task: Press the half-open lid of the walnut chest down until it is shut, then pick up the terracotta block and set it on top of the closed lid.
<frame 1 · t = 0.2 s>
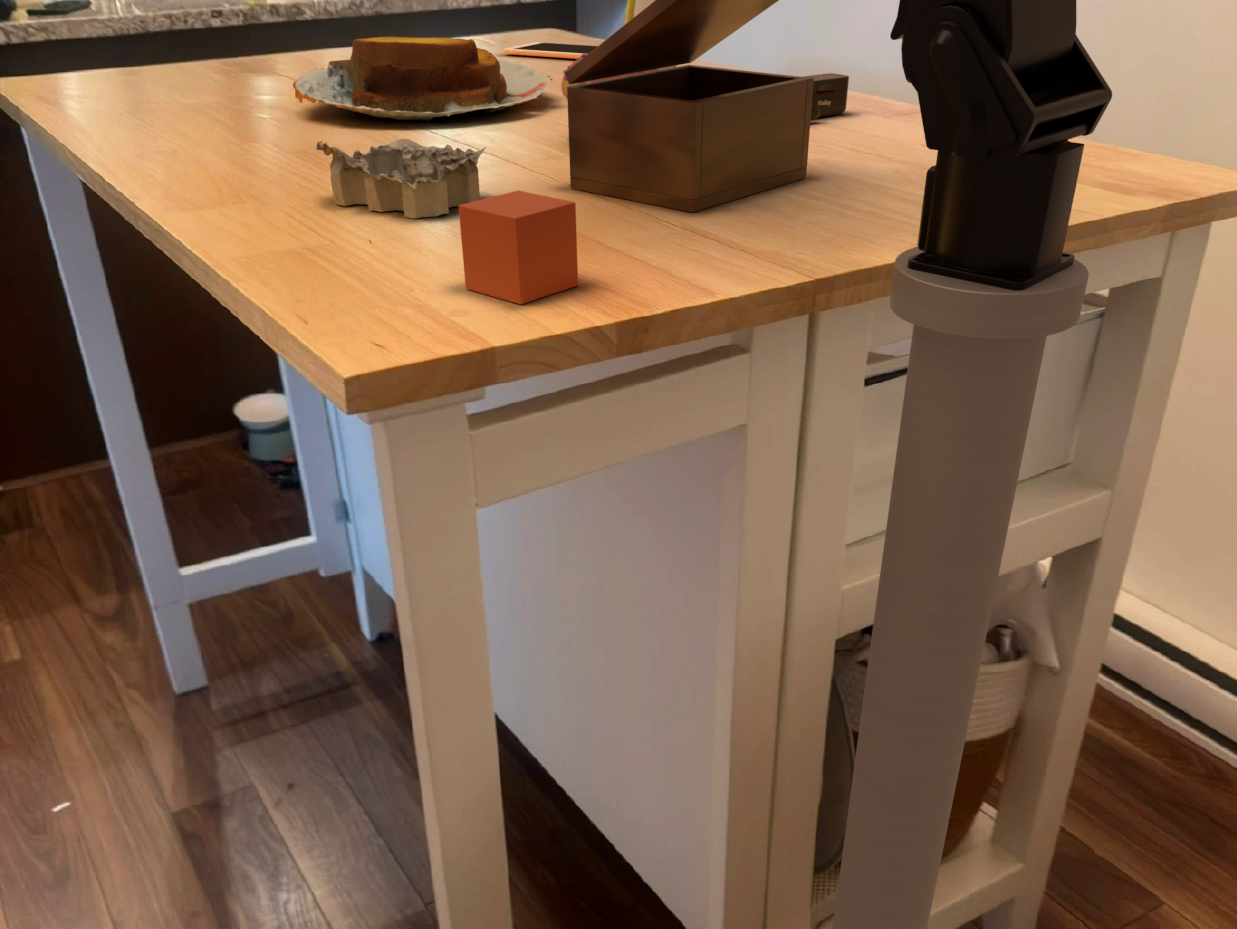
egg carton: (408, 204, 82), on the countertop
food on plate: (427, 108, 115), on the countertop
lid: (688, 24, 79), point 10 cm above the countertop, hinge at 30.0°
cell phone: (571, 55, 145), on the countertop
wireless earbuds: (812, 120, 107), on the countertop
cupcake: (612, 144, 98), on the countertop
chest: (689, 183, 85), on the countertop
tea bag: (648, 112, 111), on the countertop
block: (522, 287, 64), on the countertop
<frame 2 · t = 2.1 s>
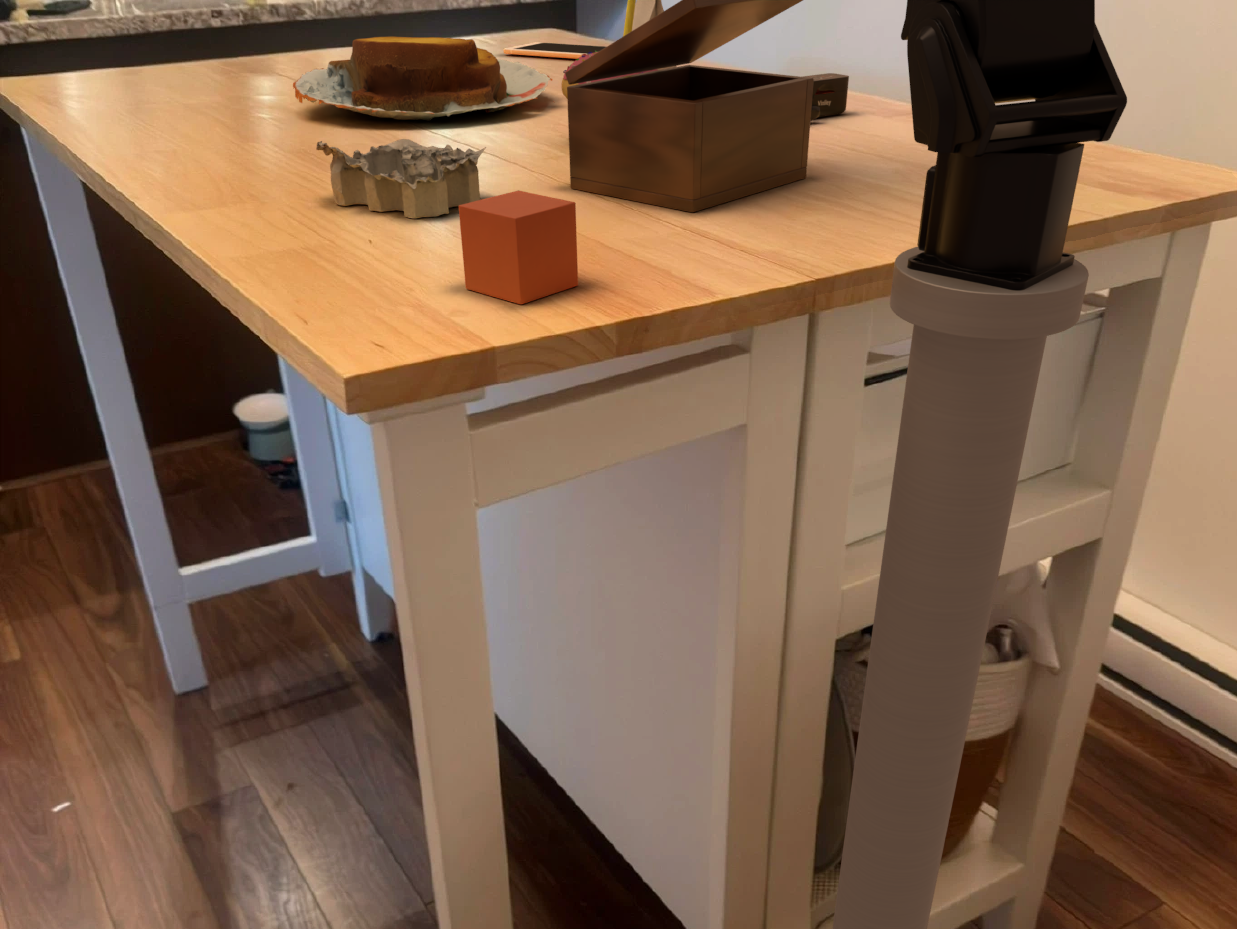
hand: (716, 6, 77), 12 cm above the countertop, tool pointing down, fingers closed
lid: (691, 32, 80), point 10 cm above the countertop, hinge at 25.0°
everything else where it was.
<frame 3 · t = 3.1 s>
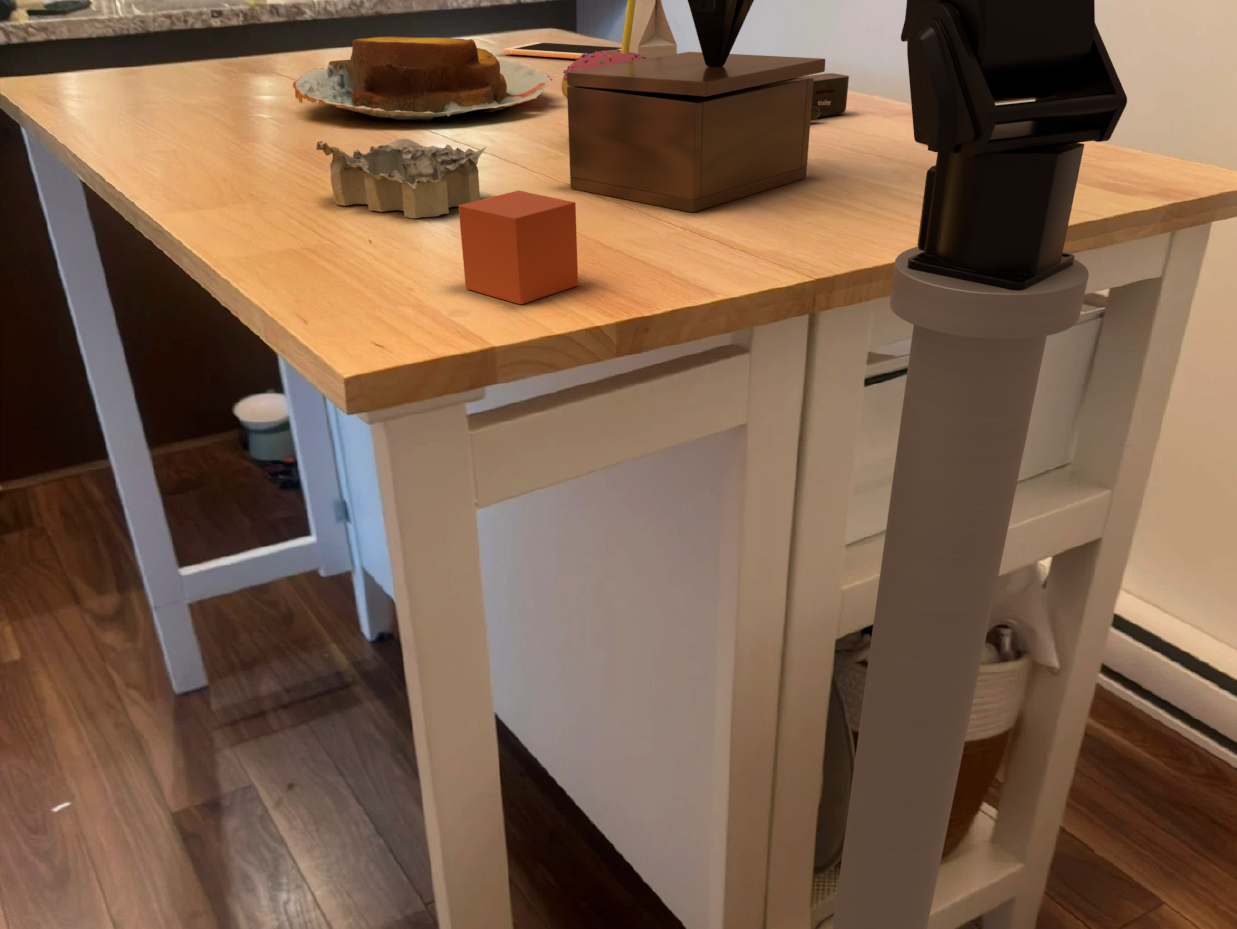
hand: (714, 66, 79), 8 cm above the countertop, tool pointing down, fingers closed, pressing on lid
lid: (696, 72, 81), point 7 cm above the countertop, hinge at 1.9°, touching gripper
everything else where it was.
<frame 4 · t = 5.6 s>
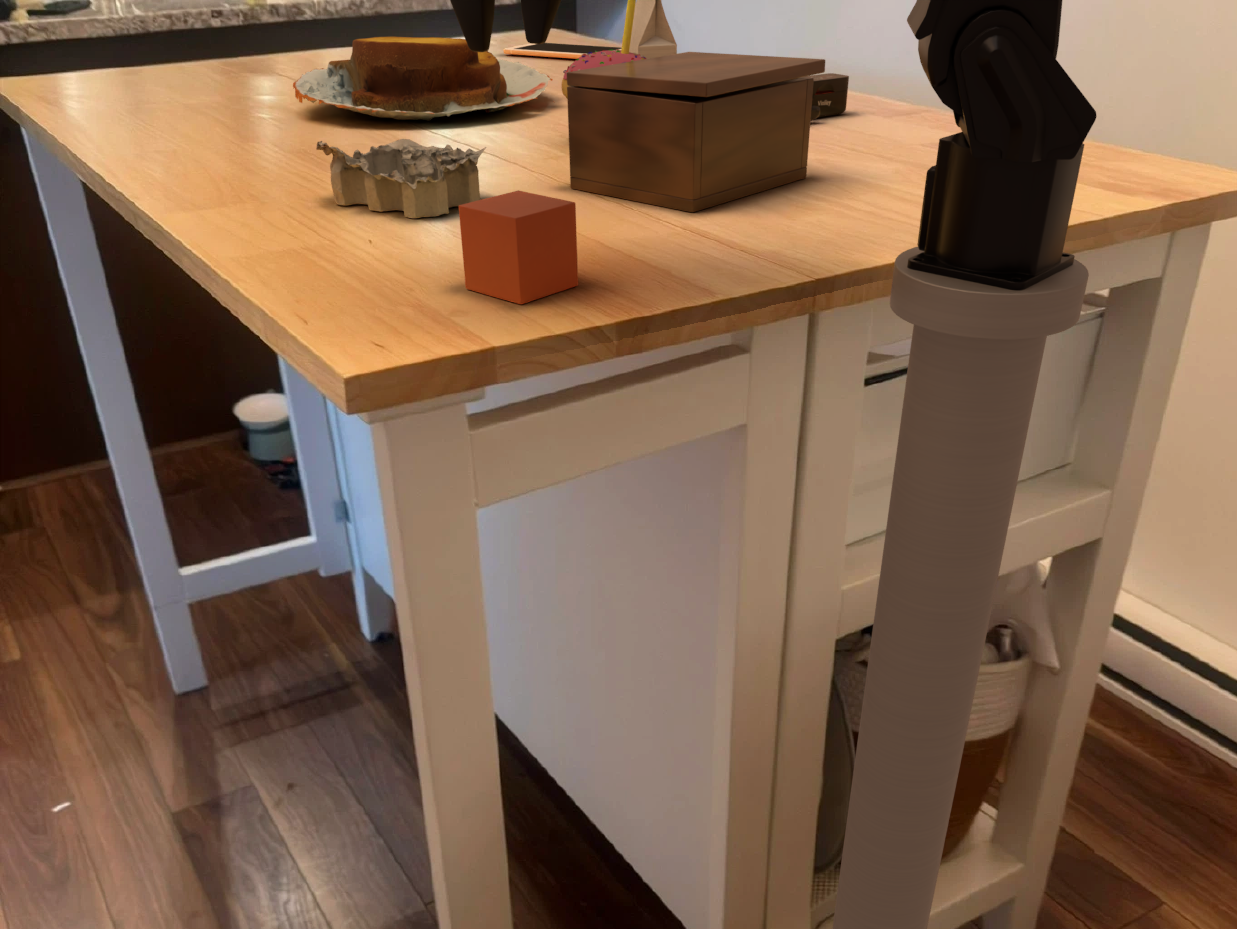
hand: (508, 47, 58), 12 cm above the countertop, tool pointing down, fingers open, 4 cm apart
lid: (696, 72, 81), point 7 cm above the countertop, hinge at 1.7°
everything else where it was.
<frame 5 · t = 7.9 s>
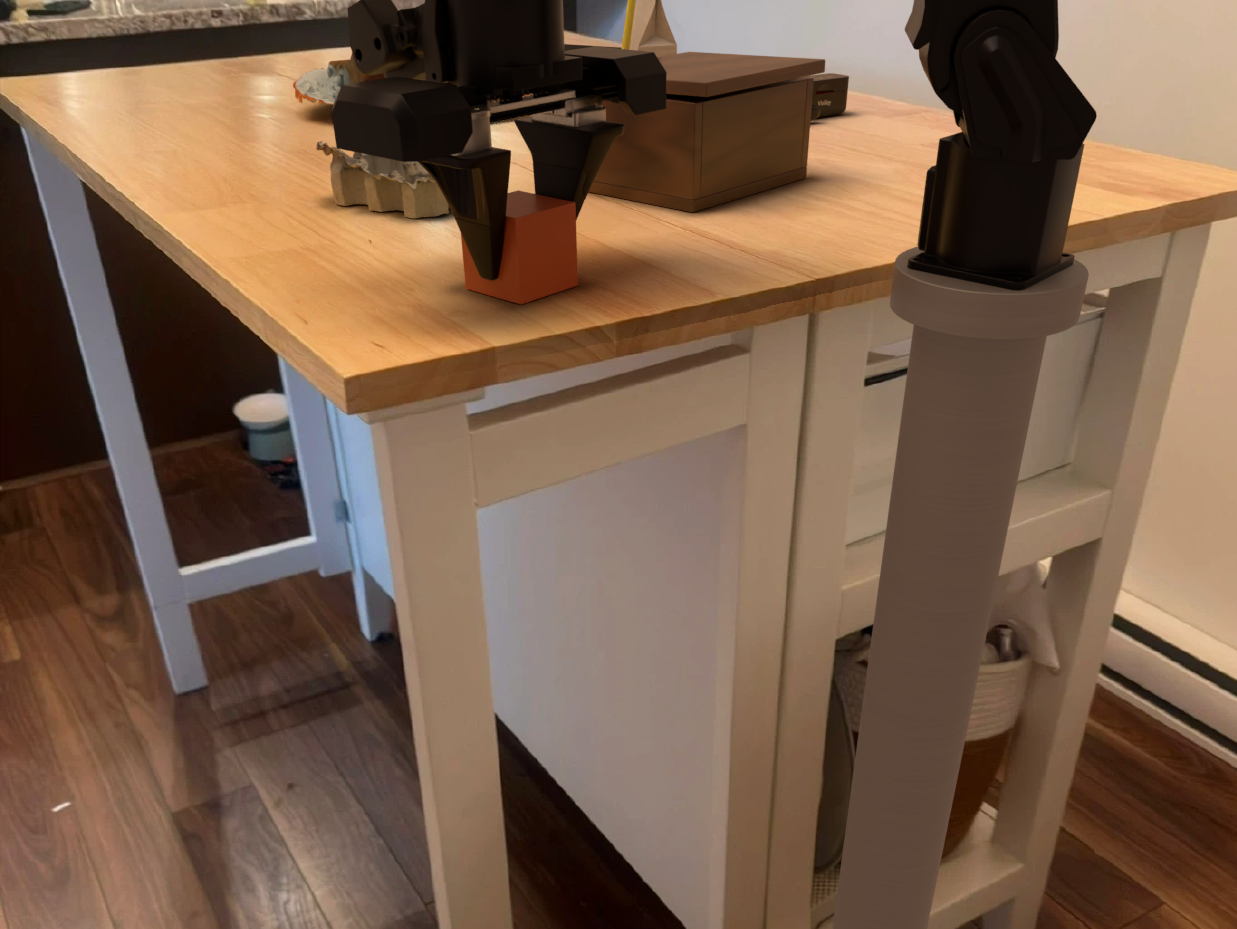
hand: (521, 268, 64), 1 cm above the countertop, tool pointing down, fingers closed on block, 4 cm apart
block: (522, 287, 64), on the countertop, touching gripper
everything else where it was.
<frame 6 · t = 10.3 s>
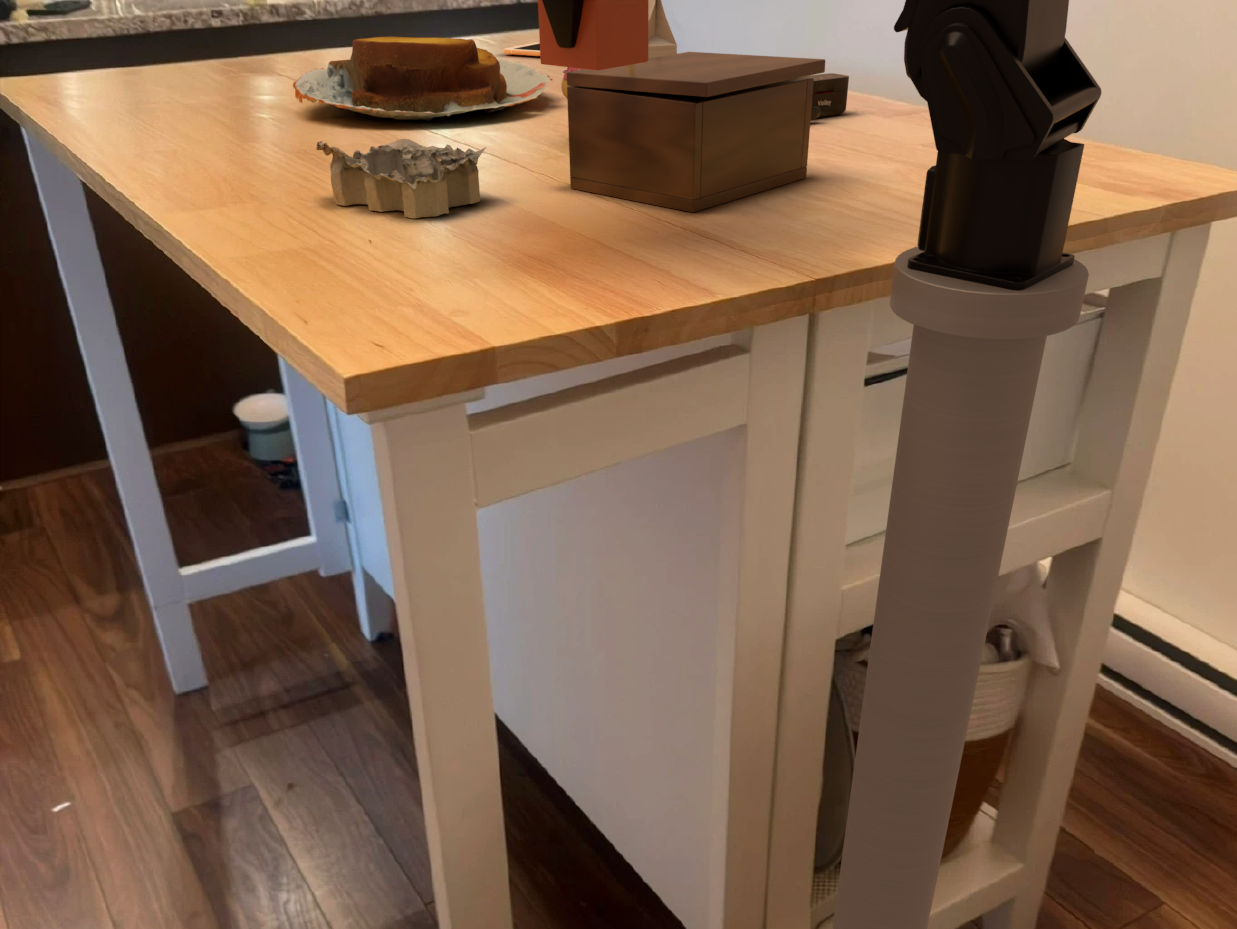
hand: (595, 43, 66), 11 cm above the countertop, tool pointing down, fingers closed on block, 4 cm apart
block: (594, 63, 67), point 10 cm above the countertop, touching gripper
everything else where it was.
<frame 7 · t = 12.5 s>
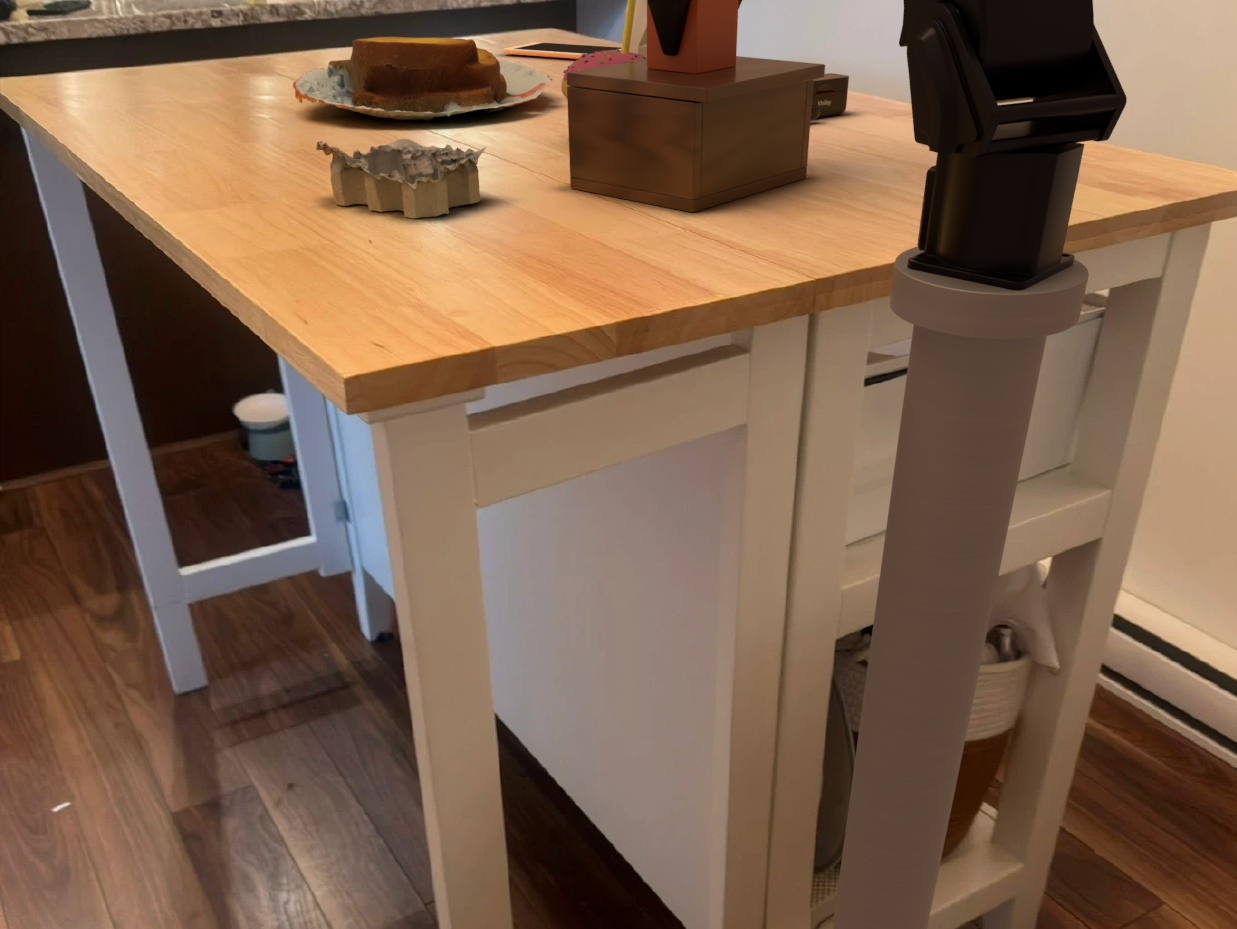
hand: (692, 51, 80), 9 cm above the countertop, tool pointing down, fingers closed on block, 4 cm apart
lid: (696, 74, 81), point 7 cm above the countertop, hinge at 0.2°, touching block
block: (691, 67, 81), point 8 cm above the countertop, touching gripper, lid
everything else where it was.
when the fingers open (9 cm above the countertop, at t = 12.6 s): block stays where it is, resting on lid.
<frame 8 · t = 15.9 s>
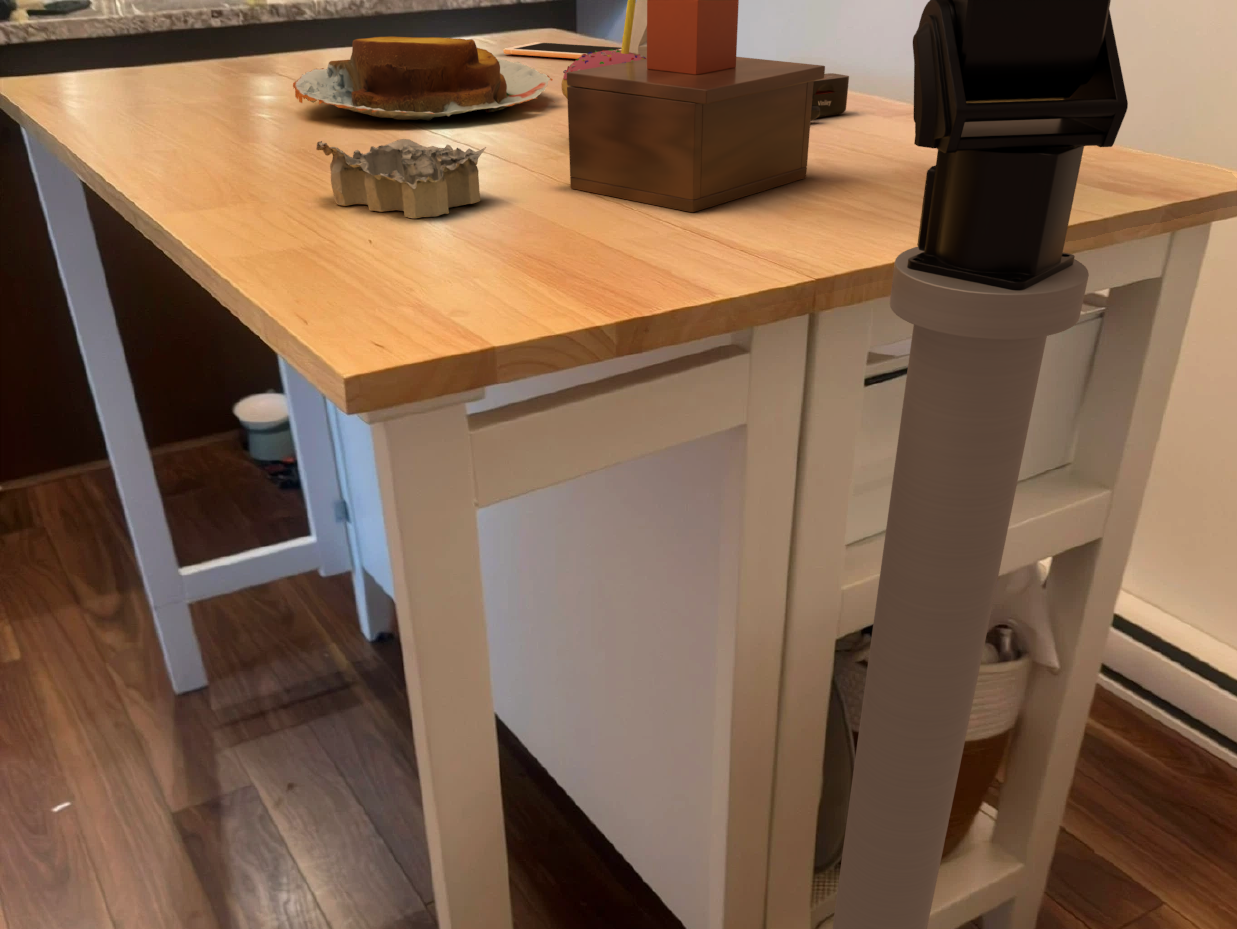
lid: (696, 75, 81), point 7 cm above the countertop, hinge at -0.2°, touching block
block: (691, 68, 81), point 8 cm above the countertop, touching lid
everything else where it was.
at the end: lid at +0° (first picture: +30°); block inside the target area on the chest (0.0 cm from its centre), point 7.7 cm above the chest's base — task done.
